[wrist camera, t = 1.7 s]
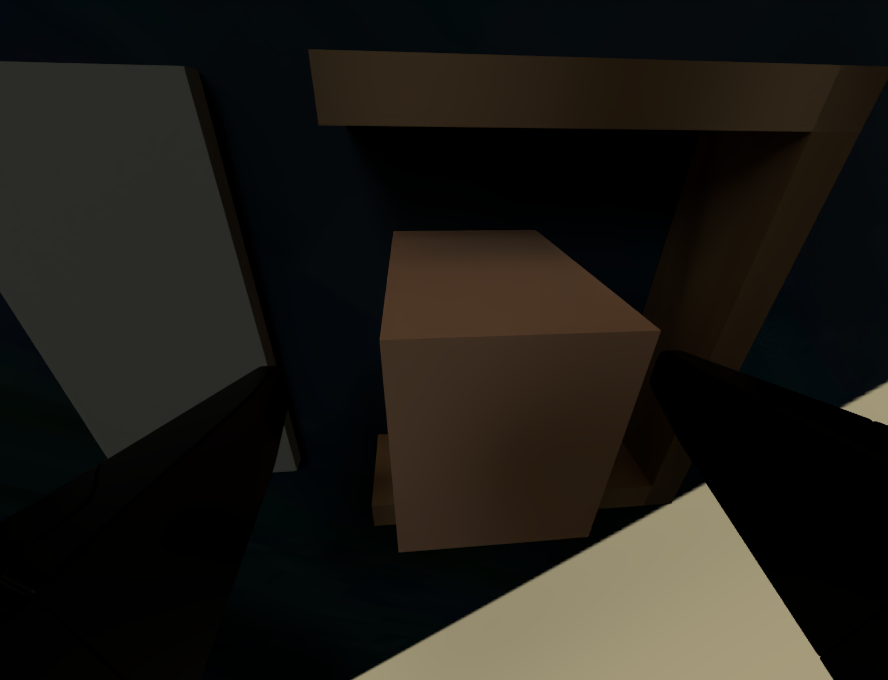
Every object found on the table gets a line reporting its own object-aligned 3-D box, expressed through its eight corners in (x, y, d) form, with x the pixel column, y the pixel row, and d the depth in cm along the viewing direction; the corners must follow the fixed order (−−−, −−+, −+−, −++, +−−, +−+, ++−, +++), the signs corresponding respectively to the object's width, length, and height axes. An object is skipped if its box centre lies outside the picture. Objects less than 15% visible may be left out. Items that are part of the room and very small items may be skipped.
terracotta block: (401, 378, 13) (398, 552, 7) (393, 230, 10) (379, 340, 5) (515, 373, 13) (587, 537, 8) (534, 229, 10) (661, 330, 5)
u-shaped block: (380, 453, 14) (374, 525, 12) (339, 73, 8) (308, 50, 6) (625, 438, 15) (671, 503, 12) (753, 83, 9) (893, 66, 6)
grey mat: (133, 468, 13) (122, 481, 13) (-112, 62, 7) (-151, 57, 7) (300, 458, 14) (297, 470, 13) (197, 69, 8) (183, 66, 7)
